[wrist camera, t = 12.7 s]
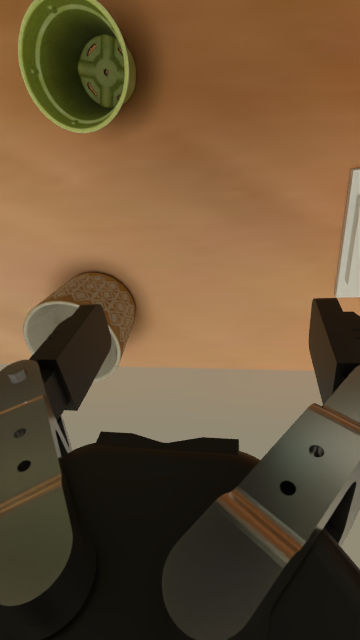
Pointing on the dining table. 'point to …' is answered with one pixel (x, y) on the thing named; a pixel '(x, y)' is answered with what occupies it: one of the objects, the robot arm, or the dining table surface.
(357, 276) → the white pegged base plate
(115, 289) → the planter
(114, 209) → the dining table surface
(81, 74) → the plant pot
